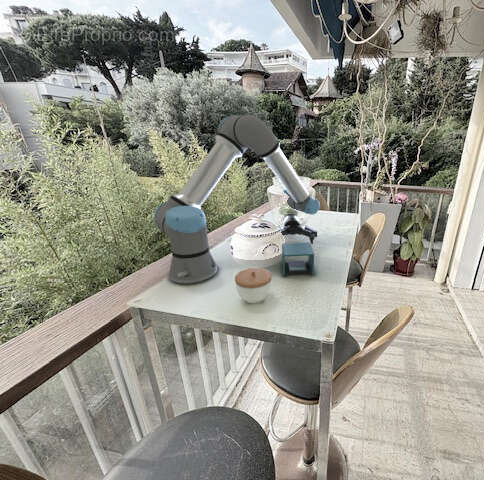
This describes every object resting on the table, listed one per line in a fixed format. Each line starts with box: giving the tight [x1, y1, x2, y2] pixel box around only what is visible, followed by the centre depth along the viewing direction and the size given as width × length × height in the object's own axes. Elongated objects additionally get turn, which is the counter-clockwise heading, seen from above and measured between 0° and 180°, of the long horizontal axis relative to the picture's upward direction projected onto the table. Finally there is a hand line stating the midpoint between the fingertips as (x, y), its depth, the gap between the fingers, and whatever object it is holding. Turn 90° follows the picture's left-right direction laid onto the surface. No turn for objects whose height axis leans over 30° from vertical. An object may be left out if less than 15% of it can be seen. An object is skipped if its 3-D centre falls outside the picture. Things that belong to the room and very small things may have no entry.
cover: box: [281, 242, 315, 277], centre depth 100 cm, size 11×11×8 cm
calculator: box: [287, 260, 308, 275], centre depth 101 cm, size 8×6×2 cm
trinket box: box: [234, 267, 273, 304], centre depth 80 cm, size 11×11×9 cm
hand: (295, 241), depth 107 cm, fingers open, 13 cm apart
